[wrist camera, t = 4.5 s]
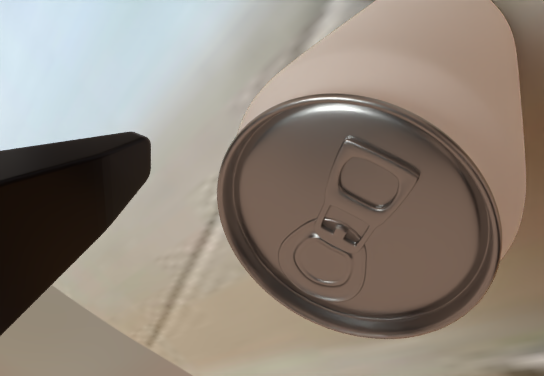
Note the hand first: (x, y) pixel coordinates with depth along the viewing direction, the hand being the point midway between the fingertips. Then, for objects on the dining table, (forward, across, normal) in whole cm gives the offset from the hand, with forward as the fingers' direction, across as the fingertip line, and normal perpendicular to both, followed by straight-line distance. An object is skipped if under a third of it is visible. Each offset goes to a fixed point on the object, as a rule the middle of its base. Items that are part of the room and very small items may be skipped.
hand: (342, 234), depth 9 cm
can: (+12, 0, 0) cm, 12 cm away
